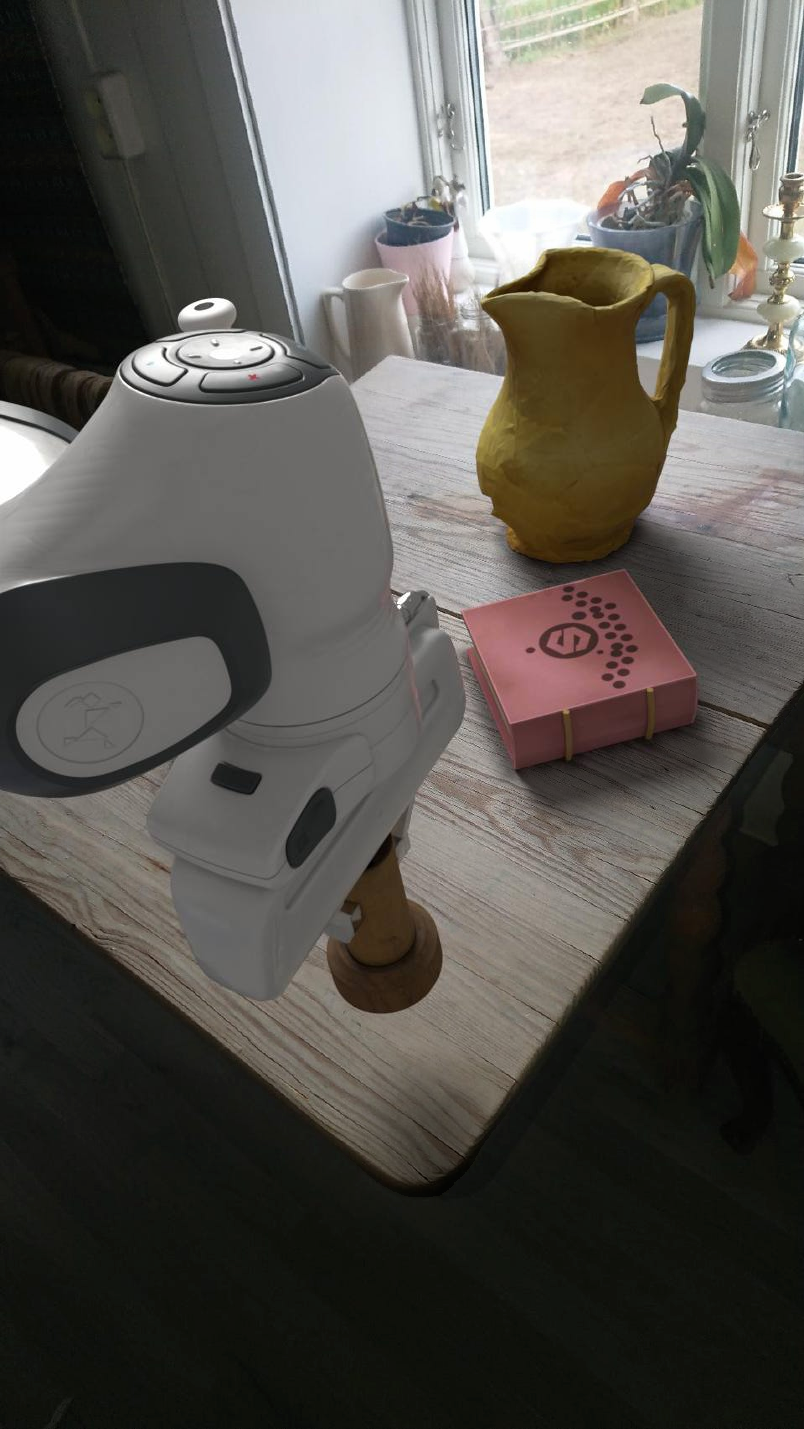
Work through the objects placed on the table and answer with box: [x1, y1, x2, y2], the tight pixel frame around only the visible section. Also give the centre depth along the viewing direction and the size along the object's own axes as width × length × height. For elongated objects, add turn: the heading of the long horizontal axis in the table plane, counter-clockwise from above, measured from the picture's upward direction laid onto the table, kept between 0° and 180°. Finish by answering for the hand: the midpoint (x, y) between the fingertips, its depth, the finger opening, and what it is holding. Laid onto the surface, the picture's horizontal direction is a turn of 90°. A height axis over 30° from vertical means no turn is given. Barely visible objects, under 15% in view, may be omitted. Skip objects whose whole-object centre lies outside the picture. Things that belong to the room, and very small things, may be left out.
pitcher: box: [474, 246, 697, 564], centre depth 88 cm, size 17×19×25 cm
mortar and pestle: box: [326, 832, 444, 1015], centre depth 51 cm, size 7×6×18 cm
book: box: [460, 568, 699, 771], centre depth 78 cm, size 14×15×5 cm
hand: (368, 892), depth 52 cm, fingers closed on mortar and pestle, 4 cm apart
